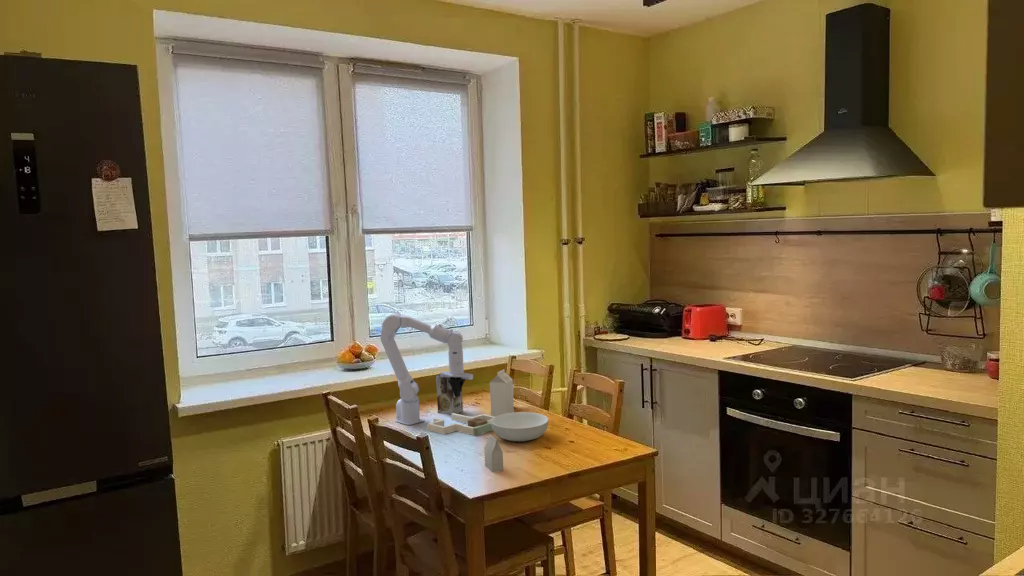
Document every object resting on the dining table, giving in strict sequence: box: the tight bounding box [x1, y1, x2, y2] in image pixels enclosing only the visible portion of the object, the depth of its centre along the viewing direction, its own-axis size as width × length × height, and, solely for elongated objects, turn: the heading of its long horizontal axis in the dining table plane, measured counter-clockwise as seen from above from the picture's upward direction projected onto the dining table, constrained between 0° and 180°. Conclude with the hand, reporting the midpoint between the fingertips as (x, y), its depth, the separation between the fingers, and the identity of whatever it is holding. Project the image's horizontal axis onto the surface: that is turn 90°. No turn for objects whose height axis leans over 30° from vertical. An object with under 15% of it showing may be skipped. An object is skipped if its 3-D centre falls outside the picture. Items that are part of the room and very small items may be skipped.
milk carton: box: [489, 369, 515, 417], centre depth 285 cm, size 7×7×19 cm
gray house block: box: [483, 434, 504, 473], centre depth 224 cm, size 4×7×10 cm, turn 22°
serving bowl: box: [491, 411, 550, 443], centre depth 256 cm, size 21×21×7 cm
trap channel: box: [426, 413, 494, 437], centre depth 273 cm, size 24×23×3 cm
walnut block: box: [467, 418, 487, 427], centre depth 268 cm, size 6×4×4 cm
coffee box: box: [435, 373, 464, 415], centre depth 296 cm, size 9×6×16 cm
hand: (457, 396), depth 282 cm, fingers closed
